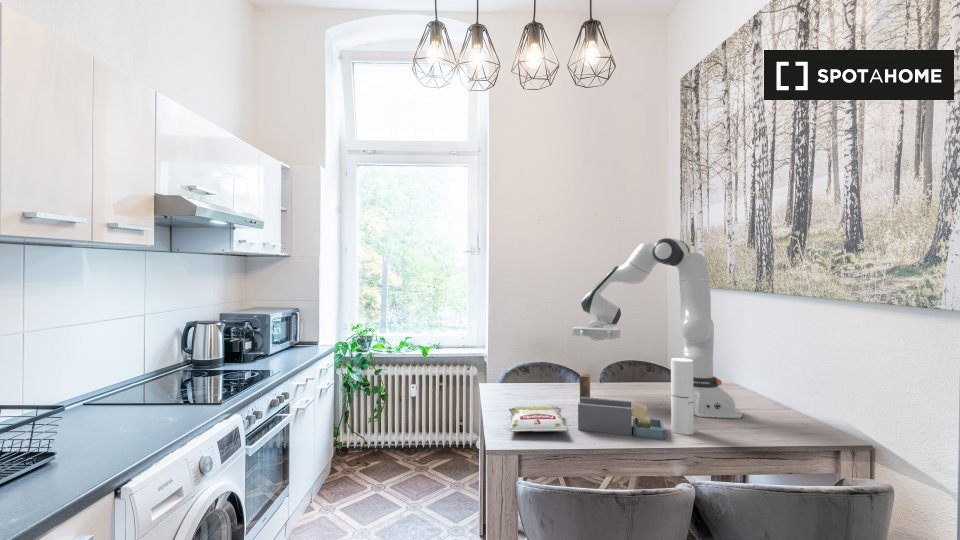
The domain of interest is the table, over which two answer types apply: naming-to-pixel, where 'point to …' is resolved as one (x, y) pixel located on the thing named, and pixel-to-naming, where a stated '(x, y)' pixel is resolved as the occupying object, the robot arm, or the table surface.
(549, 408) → the frozen beans
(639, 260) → the robot arm
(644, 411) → the tan cube
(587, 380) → the tall wooden post
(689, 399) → the cylindrical container
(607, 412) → the channel
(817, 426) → the table surface
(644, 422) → the tan wooden cube
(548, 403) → the table surface
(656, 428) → the tray
